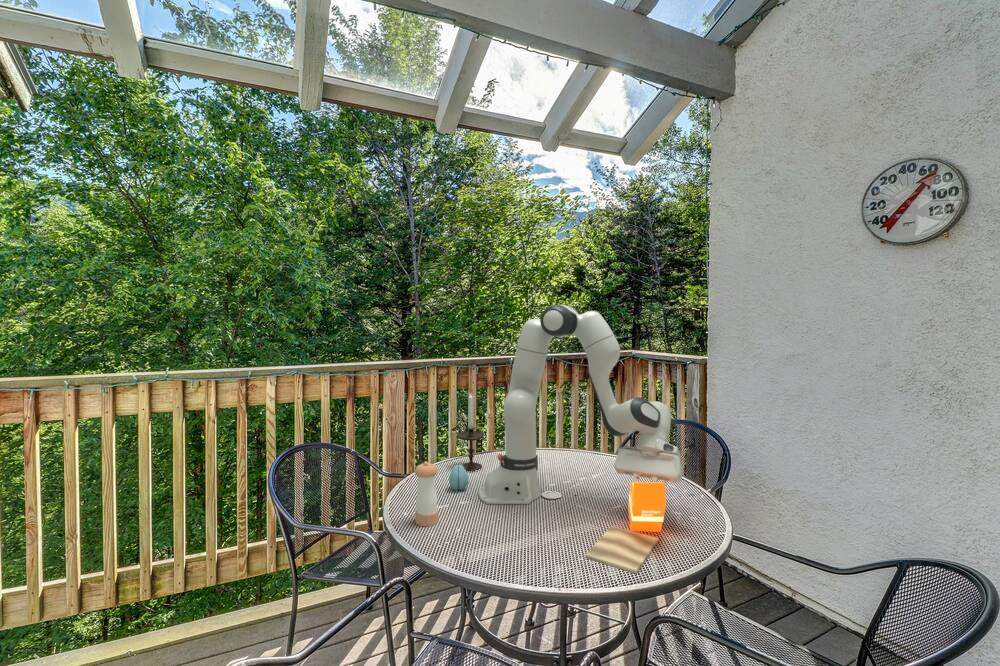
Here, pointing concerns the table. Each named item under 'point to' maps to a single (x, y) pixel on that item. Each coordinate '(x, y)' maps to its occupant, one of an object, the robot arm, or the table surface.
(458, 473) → the toy flower bud
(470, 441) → the candlestick
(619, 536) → the board
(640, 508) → the orange juice
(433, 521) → the pepper shaker
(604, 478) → the table surface
